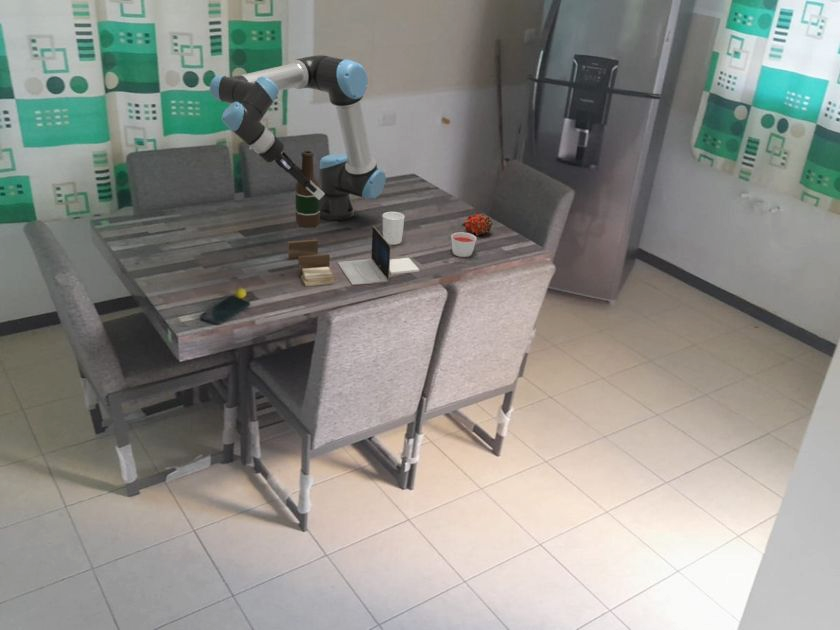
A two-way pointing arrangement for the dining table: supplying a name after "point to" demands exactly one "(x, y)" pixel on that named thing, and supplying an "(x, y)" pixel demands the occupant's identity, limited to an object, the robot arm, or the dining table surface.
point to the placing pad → (402, 266)
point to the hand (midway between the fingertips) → (318, 192)
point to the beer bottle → (307, 196)
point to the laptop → (370, 264)
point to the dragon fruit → (477, 224)
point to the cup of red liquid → (463, 244)
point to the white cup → (393, 227)
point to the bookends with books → (311, 262)
